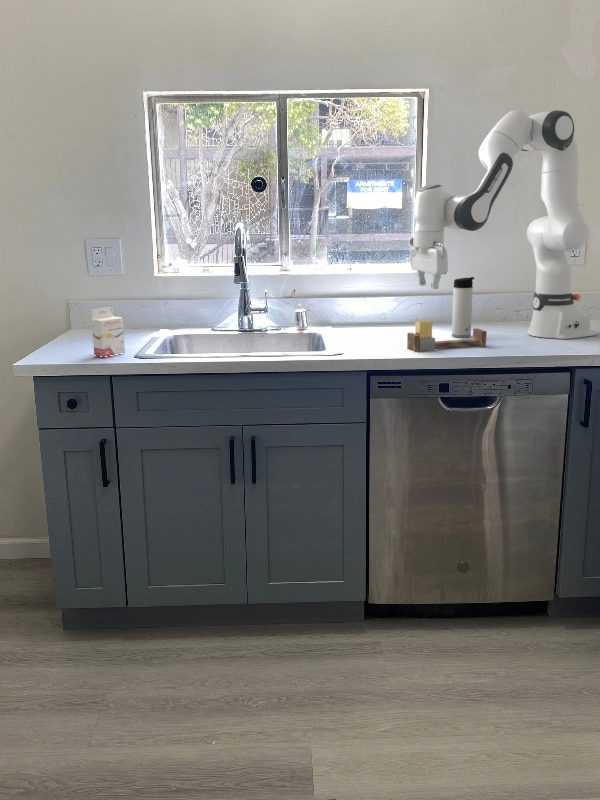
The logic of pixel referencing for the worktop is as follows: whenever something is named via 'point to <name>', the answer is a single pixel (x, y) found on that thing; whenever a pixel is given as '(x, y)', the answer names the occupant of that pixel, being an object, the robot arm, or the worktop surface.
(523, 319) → the worktop surface
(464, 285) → the travel mug
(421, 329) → the slider
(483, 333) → the rail
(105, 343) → the ink cartridge box
